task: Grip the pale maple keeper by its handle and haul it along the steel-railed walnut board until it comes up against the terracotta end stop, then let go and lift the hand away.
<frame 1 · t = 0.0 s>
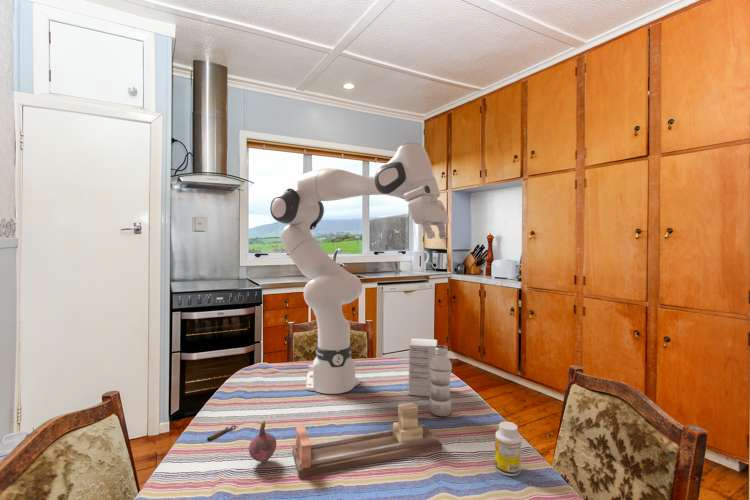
hand: (437, 238, 113), 52 cm above the table, tool tilted 20°, fingers open, 8 cm apart
plastic bottle: (439, 414, 114), on the table
rail board: (368, 451, 93), on the table
supplement bottle: (507, 470, 87), on the table
vegetable: (262, 464, 88), on the table
keeper: (407, 421, 97), point 6 cm above the table, slide at 22.0 cm
supplement box: (422, 391, 131), on the table
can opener: (223, 435, 101), on the table
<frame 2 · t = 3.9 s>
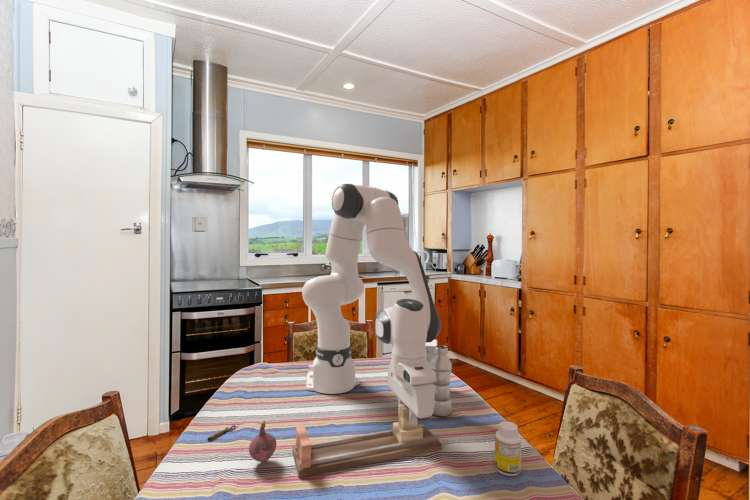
hand: (407, 419, 97), 6 cm above the table, tool pointing down, fingers closed on keeper, 3 cm apart
keeper: (407, 421, 97), point 6 cm above the table, slide at 22.0 cm, touching gripper
everything else where it was.
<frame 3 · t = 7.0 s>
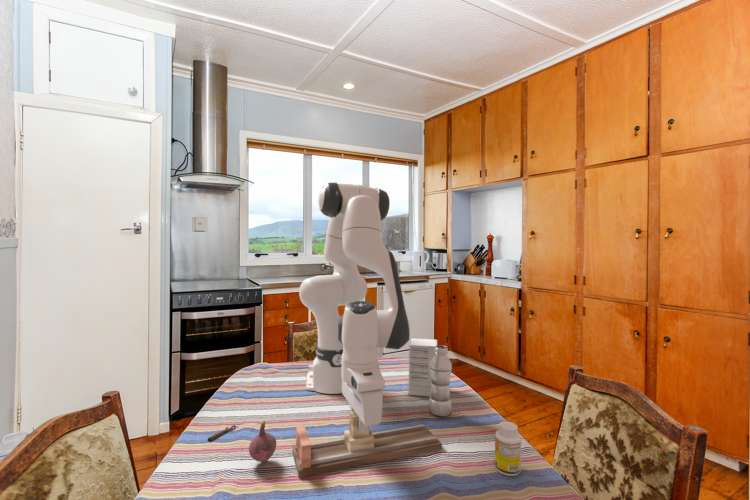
hand: (359, 427, 92), 6 cm above the table, tool pointing down, fingers closed on keeper, 3 cm apart
keeper: (359, 429, 92), point 6 cm above the table, slide at 9.1 cm, touching gripper
everything else where it was.
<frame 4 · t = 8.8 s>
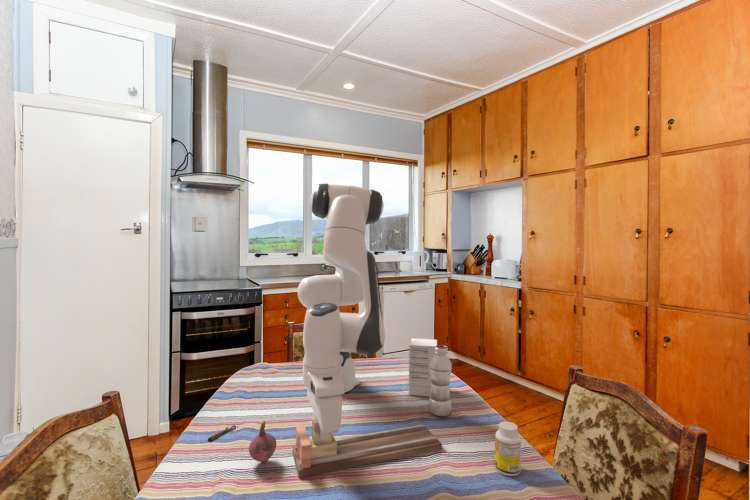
hand: (321, 433, 89), 6 cm above the table, tool pointing down, fingers closed on keeper, 3 cm apart
keeper: (321, 435, 89), point 6 cm above the table, slide at 0.0 cm, touching gripper
everything else where it was.
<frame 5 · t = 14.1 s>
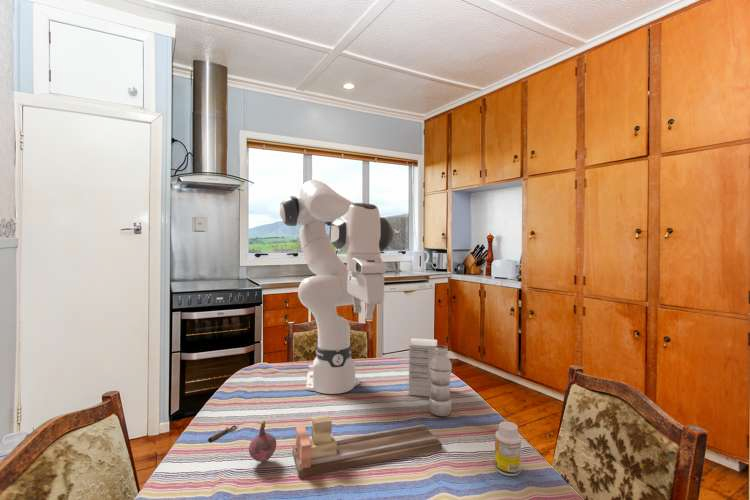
hand: (362, 315, 102), 31 cm above the table, tool pointing down, fingers open, 8 cm apart
keeper: (321, 435, 89), point 6 cm above the table, slide at 0.0 cm
everything else where it was.
at the end: keeper slide at 0.0 cm; the gripper is holding nothing; vegetable moved 0.2 cm from its start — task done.
